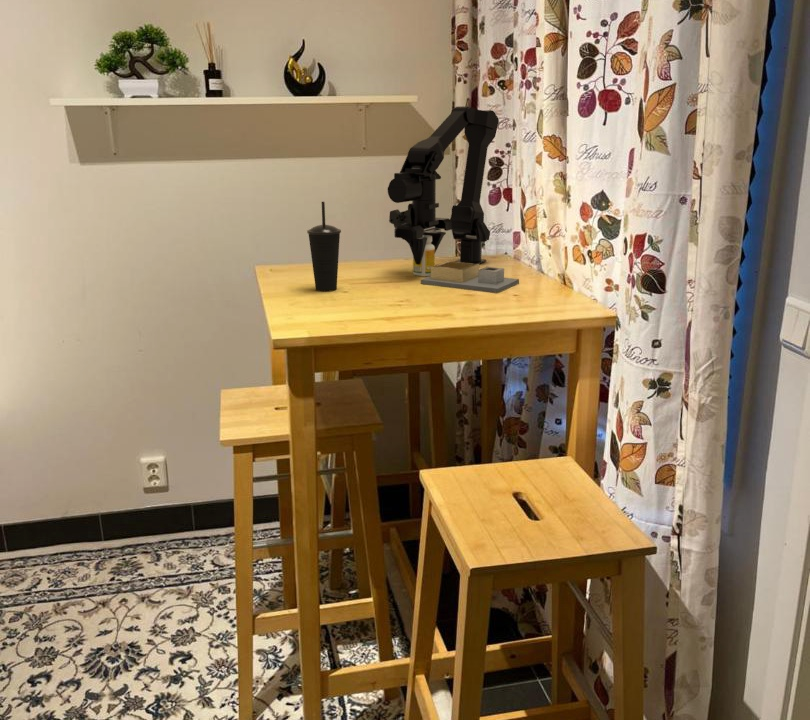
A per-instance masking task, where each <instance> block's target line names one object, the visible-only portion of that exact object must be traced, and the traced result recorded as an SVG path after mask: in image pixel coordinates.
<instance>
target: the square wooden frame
mask: <svg viewBox="0 0 810 720" xmlns="http://www.w3.org/2000/svg"><path fill="white" fill-rule="evenodd" d="M479 269H480V264H473V263H464V262H455V261H452V260H447V261H444V262H440V263H438V264H435V265H434V266H431V279H434V280H443V281H451V282H460V283H463V282H466V281H469V280H471V279H474V278H476V277H478V270H479Z"/></svg>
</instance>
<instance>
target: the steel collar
mask: <svg viewBox="0 0 810 720" xmlns="http://www.w3.org/2000/svg"><path fill="white" fill-rule="evenodd" d="M504 278H505V268H503V267H494V266H486V267H482V268H479V270H478V283H486V284H495V285H496V284H498V283H501V282H503V281H504Z"/></svg>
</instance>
